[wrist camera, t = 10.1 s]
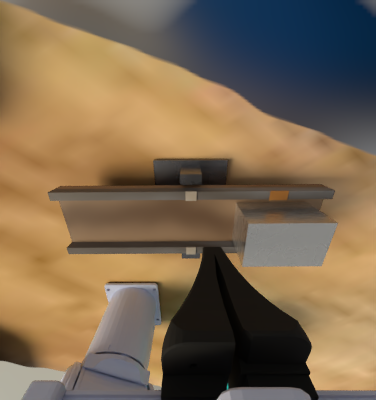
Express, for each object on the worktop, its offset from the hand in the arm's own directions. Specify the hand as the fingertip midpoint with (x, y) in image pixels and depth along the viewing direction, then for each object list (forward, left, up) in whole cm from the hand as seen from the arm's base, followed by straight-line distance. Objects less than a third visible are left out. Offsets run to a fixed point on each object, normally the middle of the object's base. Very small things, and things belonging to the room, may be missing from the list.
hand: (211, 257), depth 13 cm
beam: (0, +2, -8) cm, 9 cm away
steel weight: (0, -7, -6) cm, 9 cm away
